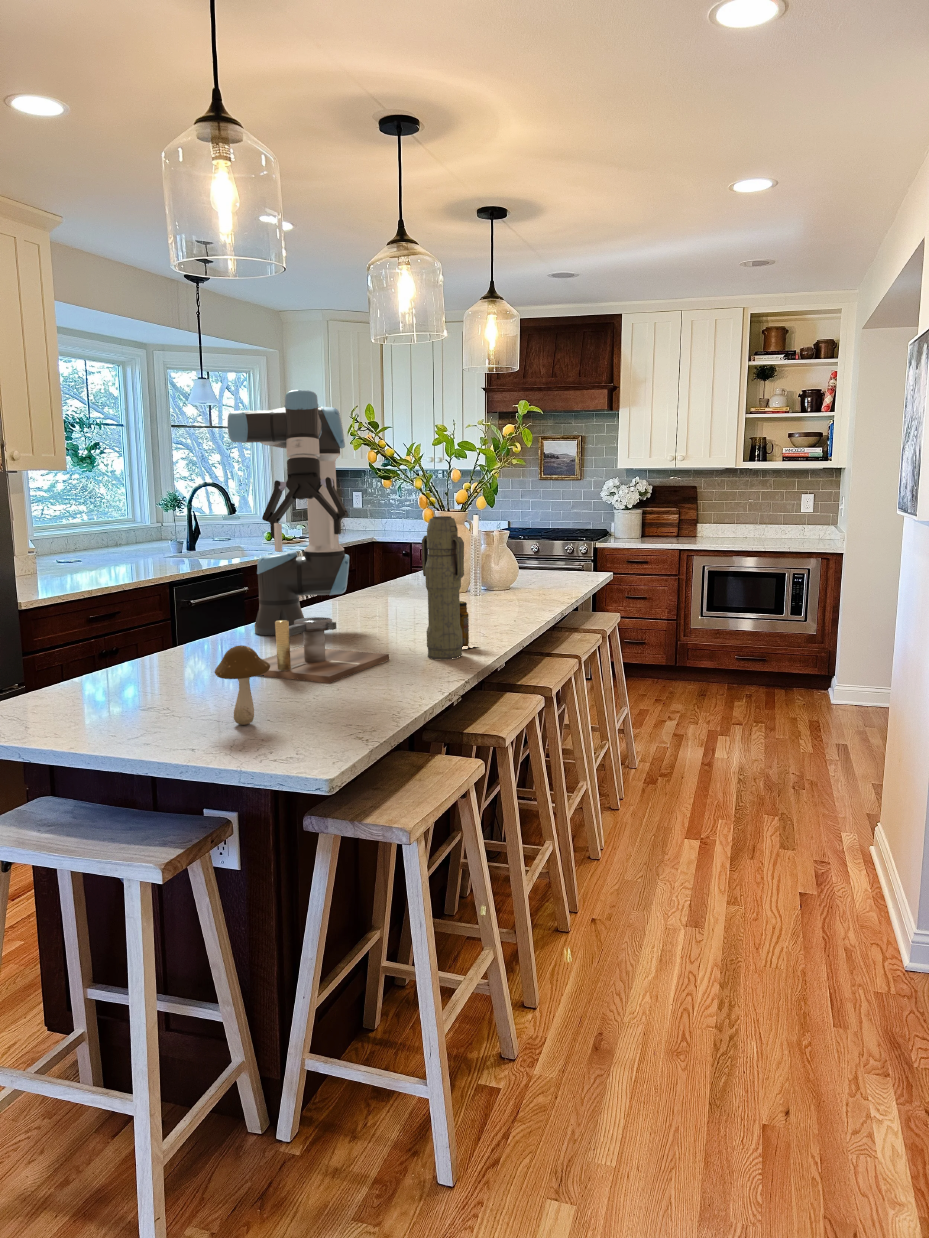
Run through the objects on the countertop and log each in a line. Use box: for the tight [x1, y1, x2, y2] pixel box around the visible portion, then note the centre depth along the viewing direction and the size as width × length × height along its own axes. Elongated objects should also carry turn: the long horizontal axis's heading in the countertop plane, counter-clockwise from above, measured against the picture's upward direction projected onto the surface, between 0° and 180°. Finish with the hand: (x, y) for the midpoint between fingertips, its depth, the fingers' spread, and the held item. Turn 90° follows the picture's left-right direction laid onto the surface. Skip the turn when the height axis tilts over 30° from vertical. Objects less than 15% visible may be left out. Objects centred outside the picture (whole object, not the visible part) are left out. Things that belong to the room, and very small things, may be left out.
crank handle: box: [275, 616, 337, 670], centre depth 208 cm, size 10×18×11 cm, turn 154°
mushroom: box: [214, 645, 270, 726], centre depth 165 cm, size 9×11×15 cm
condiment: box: [460, 600, 470, 647], centre depth 234 cm, size 7×8×12 cm
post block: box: [261, 631, 390, 684], centre depth 213 cm, size 26×26×9 cm
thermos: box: [421, 515, 465, 660], centre depth 220 cm, size 9×12×35 cm
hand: (306, 550), depth 206 cm, fingers open, 13 cm apart
